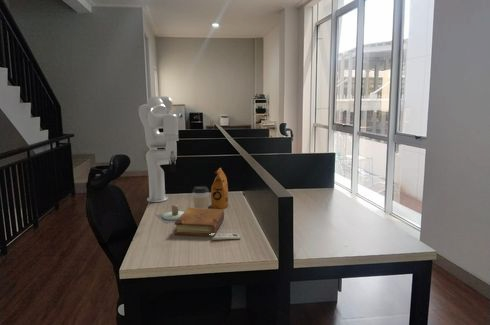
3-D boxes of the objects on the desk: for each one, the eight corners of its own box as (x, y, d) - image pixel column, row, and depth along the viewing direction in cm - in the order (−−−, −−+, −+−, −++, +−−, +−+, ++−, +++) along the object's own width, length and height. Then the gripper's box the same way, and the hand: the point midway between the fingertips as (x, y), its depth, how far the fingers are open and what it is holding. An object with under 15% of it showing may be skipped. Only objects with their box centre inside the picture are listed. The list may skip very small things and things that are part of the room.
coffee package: (208, 209, 212) (207, 171, 209) (214, 203, 224) (213, 167, 221) (225, 209, 210) (224, 171, 207) (230, 203, 222) (229, 167, 219)
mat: (155, 216, 198) (155, 215, 198) (183, 211, 207) (183, 210, 207) (165, 224, 185) (165, 223, 185) (195, 219, 193) (195, 217, 193)
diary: (214, 237, 168) (214, 224, 167) (174, 234, 171) (174, 222, 170) (224, 219, 191) (224, 208, 190) (188, 217, 193) (188, 207, 192)
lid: (159, 215, 198) (158, 204, 197) (182, 211, 205) (181, 200, 204) (167, 222, 187) (167, 210, 186) (191, 217, 194) (191, 206, 193)
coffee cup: (211, 211, 208) (210, 185, 205) (207, 216, 199) (207, 188, 196) (195, 210, 208) (194, 184, 206) (191, 215, 200) (190, 188, 197)
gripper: (163, 137, 201) (165, 168, 203) (164, 139, 185) (166, 173, 187) (177, 137, 203) (178, 168, 205) (179, 138, 187) (181, 172, 189)
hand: (172, 170), depth 196 cm, fingers open, 9 cm apart
